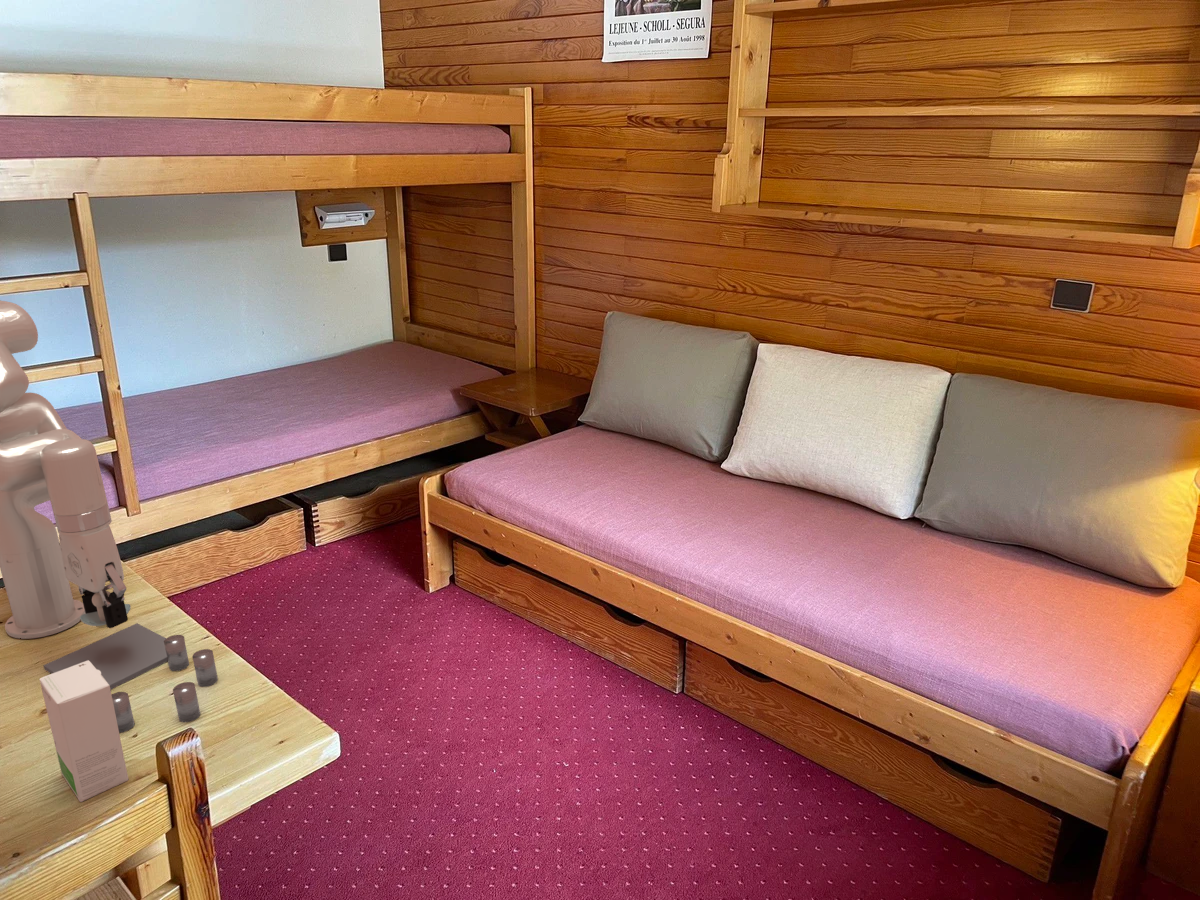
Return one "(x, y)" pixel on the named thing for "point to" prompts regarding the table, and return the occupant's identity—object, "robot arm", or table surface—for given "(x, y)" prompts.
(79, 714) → the skincare box
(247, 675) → the table surface
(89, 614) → the pacifier
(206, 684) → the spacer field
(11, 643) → the table surface
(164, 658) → the mat
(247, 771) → the table surface
